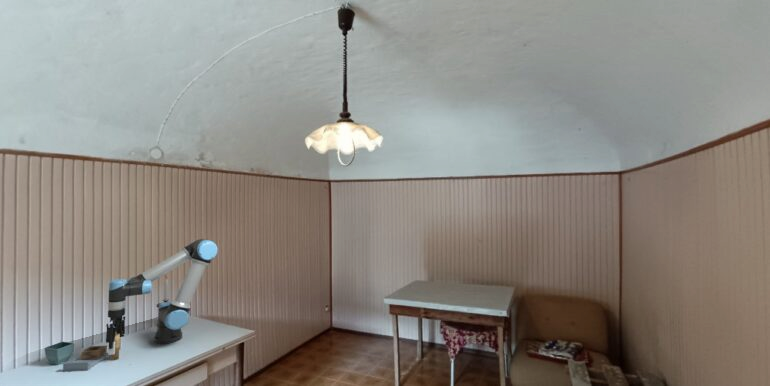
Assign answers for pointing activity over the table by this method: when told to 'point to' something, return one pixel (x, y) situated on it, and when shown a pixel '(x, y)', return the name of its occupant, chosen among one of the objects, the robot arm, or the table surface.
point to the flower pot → (59, 352)
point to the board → (82, 364)
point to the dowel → (116, 347)
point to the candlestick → (165, 293)
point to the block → (93, 352)
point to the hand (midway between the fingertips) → (115, 351)
